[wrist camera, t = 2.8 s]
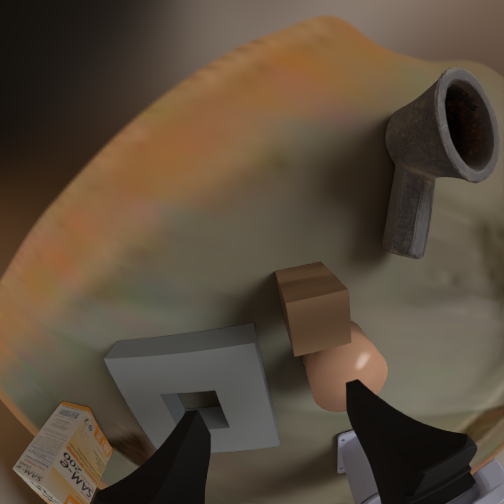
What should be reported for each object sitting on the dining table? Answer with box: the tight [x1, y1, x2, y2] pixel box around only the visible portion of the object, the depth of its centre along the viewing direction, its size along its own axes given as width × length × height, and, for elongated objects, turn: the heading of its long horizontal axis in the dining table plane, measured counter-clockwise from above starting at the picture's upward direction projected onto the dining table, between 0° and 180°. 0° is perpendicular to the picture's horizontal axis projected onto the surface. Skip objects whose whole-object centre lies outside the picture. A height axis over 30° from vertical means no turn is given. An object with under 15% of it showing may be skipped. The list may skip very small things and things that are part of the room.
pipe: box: [382, 67, 499, 259], centre depth 14 cm, size 6×13×8 cm, turn 170°
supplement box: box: [13, 401, 113, 504], centre depth 17 cm, size 8×5×13 cm, turn 4°
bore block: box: [104, 323, 280, 453], centre depth 21 cm, size 12×12×3 cm
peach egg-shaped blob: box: [301, 321, 388, 412], centre depth 19 cm, size 6×6×5 cm
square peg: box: [275, 262, 352, 357], centre depth 17 cm, size 3×3×6 cm
